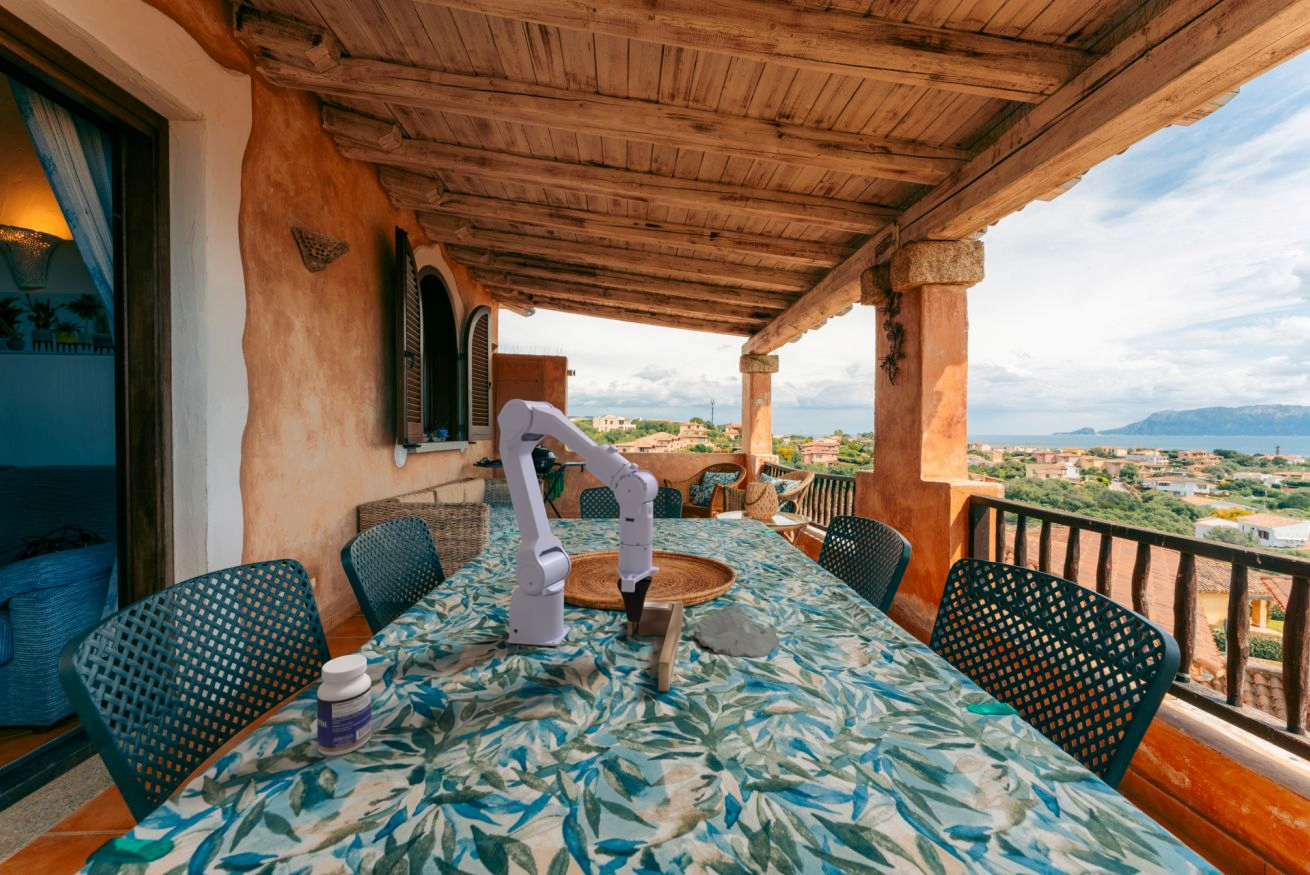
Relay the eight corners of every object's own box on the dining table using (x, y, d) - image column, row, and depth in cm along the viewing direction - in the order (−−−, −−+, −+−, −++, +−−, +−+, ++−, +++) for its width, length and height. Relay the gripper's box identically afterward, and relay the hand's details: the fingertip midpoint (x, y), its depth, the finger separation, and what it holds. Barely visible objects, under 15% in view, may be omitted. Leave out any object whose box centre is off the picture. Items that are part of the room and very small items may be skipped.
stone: (693, 641, 87) (694, 597, 101) (691, 663, 88) (693, 617, 102) (786, 652, 86) (774, 606, 100) (783, 674, 86) (771, 625, 101)
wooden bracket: (603, 686, 76) (604, 658, 76) (635, 618, 104) (635, 597, 104) (668, 691, 75) (668, 662, 75) (683, 621, 102) (683, 600, 102)
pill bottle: (315, 739, 63) (315, 659, 63) (368, 724, 66) (368, 648, 66) (318, 764, 58) (318, 678, 58) (374, 746, 62) (374, 665, 61)
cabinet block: (638, 634, 96) (638, 607, 96) (641, 626, 100) (642, 600, 100) (670, 636, 95) (670, 609, 95) (672, 628, 99) (672, 602, 99)
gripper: (653, 553, 79) (651, 639, 80) (663, 534, 94) (662, 607, 94) (609, 551, 80) (607, 636, 81) (626, 532, 95) (624, 604, 95)
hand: (634, 620), depth 87 cm, fingers closed
